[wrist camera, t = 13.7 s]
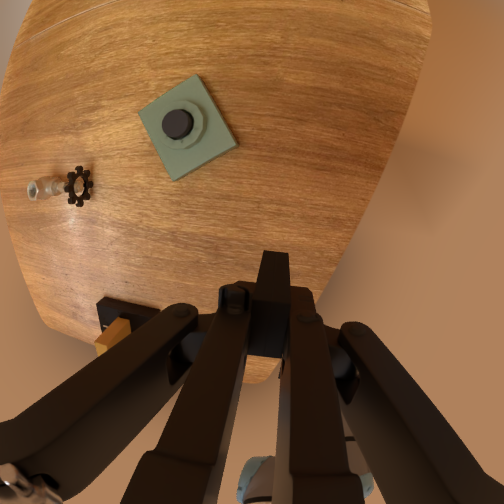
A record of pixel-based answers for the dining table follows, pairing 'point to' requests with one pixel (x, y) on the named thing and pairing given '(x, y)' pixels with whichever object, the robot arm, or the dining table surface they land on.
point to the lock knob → (112, 335)
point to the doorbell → (201, 135)
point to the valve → (61, 187)
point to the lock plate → (123, 313)
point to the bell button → (177, 123)
